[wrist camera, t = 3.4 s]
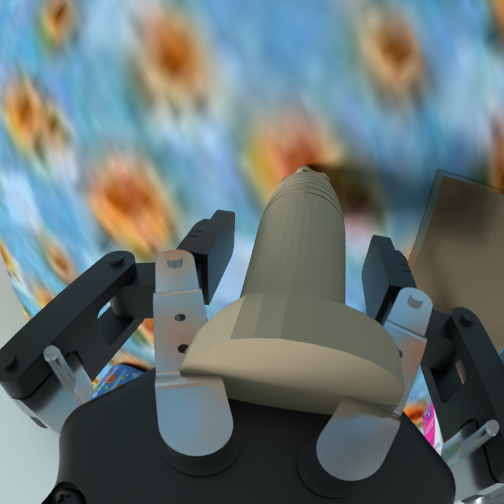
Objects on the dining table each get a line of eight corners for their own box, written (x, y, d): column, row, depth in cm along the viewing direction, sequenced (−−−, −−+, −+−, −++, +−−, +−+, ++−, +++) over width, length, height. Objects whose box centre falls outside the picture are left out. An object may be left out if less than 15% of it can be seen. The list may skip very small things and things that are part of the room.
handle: (362, 158, 17) (453, 380, 4) (322, 244, 20) (306, 476, 8) (286, 127, 17) (186, 296, 4) (254, 218, 20) (162, 436, 8)
